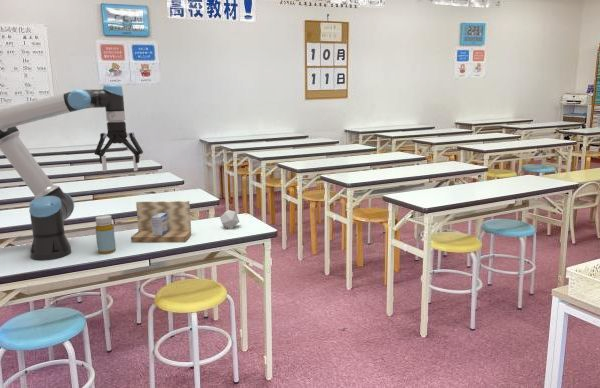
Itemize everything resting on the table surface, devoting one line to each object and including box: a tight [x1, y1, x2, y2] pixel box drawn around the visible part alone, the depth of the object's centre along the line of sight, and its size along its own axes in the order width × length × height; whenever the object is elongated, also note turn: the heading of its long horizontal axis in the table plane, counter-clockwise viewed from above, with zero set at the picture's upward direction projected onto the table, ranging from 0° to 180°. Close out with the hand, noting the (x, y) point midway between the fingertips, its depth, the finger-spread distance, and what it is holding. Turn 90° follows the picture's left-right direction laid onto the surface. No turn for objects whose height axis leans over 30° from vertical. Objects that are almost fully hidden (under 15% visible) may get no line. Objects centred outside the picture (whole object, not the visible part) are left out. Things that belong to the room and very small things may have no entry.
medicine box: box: [151, 213, 168, 236], centre depth 228 cm, size 8×4×9 cm, turn 174°
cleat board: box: [130, 200, 192, 244], centre depth 228 cm, size 24×12×16 cm, turn 89°
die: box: [219, 209, 240, 230], centre depth 246 cm, size 8×9×10 cm
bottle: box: [95, 214, 117, 255], centre depth 211 cm, size 7×7×15 cm
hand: (120, 170), depth 221 cm, fingers open, 13 cm apart
